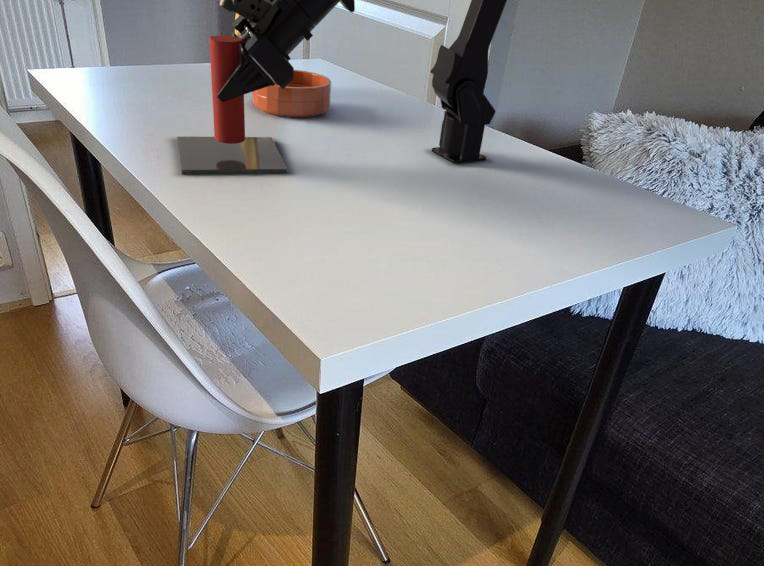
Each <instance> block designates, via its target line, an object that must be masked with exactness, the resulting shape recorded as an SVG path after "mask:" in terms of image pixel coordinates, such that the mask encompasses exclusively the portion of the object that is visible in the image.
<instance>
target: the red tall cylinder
mask: <svg viewBox="0 0 764 566" xmlns="http://www.w3.org/2000/svg"><path fill="white" fill-rule="evenodd" d="M208 41H209V61H210V75H211V76H210V78H211V79H210V80H211V96H212V97H211V98H212V114H213V115H212V117H213V133H214V136H213V137H215V140H216V141H218V142H221V143H227V144H236V143H241V142H243V141H245V137H246V121H245V94H244V95H242V96H239V97H236V98H233V99H231V100H228V101H225V102H222V101H221V100H220V99H219V98H218V97H217V94H218V93H219V91H220V90H221V88H222V87H223V85H224V84H225V82H226V81H227V79H228V78H229V76H230V75H231V73H232V72H233V70H234V69H235V67H236V66H237V64H238V63H239V44H241V46H242V39H241V38H238V37H233V36H232V35H221V34H220V35H211V36H209V38H208ZM242 47H243V46H242Z"/></svg>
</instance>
